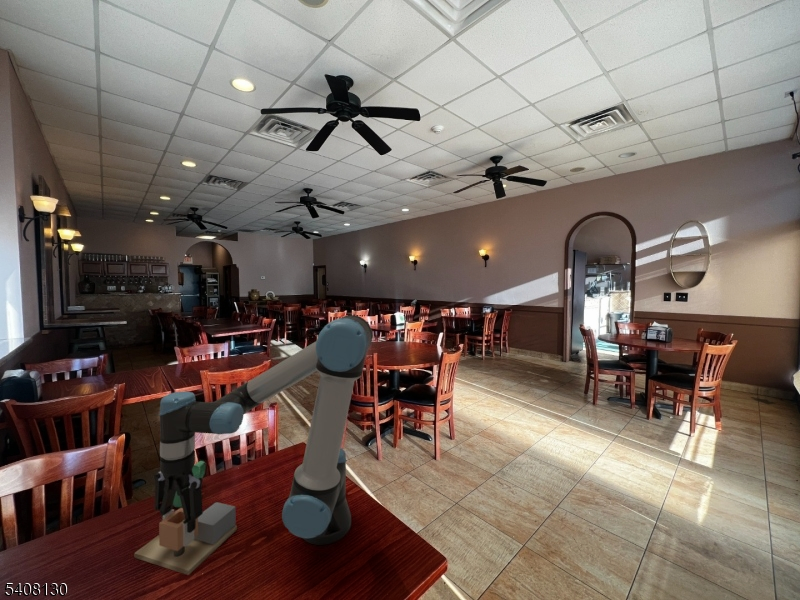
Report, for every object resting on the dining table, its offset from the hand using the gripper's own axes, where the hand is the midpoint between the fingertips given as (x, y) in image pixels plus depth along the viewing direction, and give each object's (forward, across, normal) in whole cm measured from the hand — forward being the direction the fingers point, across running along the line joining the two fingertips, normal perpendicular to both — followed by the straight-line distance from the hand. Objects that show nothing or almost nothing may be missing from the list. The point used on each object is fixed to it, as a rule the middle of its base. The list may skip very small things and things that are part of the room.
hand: (178, 539), depth 87 cm
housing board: (+5, +2, -4) cm, 7 cm away
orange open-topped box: (0, 0, 0) cm, 0 cm away
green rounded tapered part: (+5, +19, -20) cm, 28 cm away
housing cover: (+3, -3, -8) cm, 10 cm away
